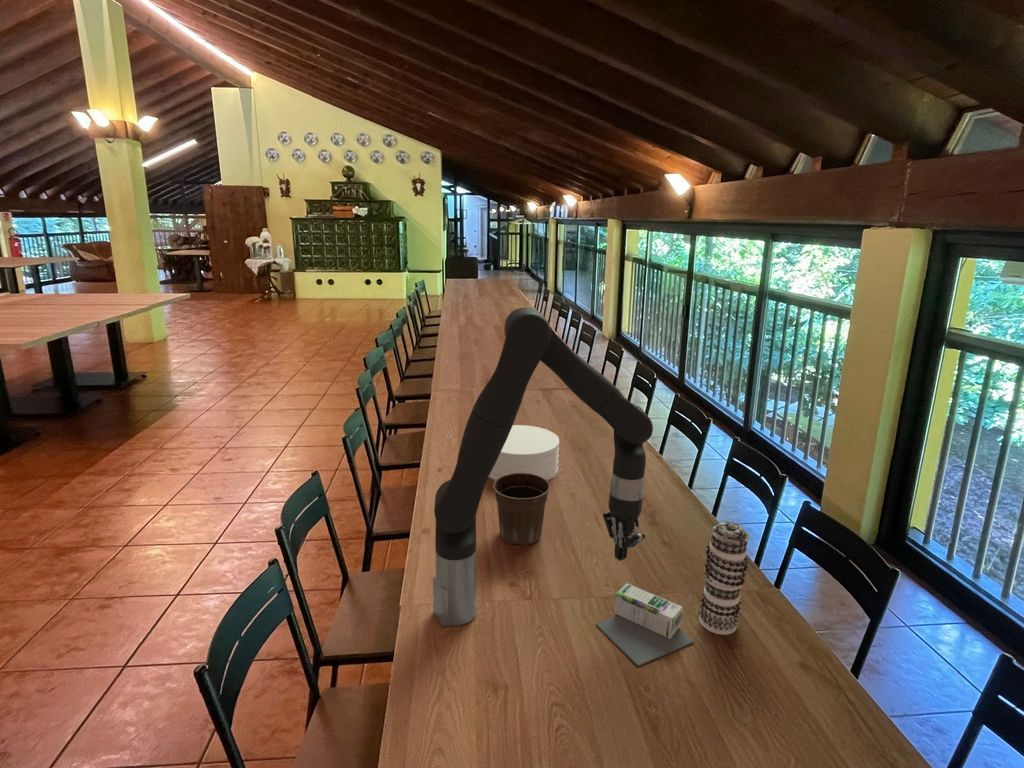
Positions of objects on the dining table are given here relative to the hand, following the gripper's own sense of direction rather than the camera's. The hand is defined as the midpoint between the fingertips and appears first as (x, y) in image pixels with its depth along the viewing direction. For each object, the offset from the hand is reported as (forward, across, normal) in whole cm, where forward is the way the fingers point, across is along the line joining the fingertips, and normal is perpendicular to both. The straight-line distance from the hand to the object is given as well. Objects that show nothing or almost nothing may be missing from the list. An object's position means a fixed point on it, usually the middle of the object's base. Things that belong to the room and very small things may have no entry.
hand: (620, 558), depth 144 cm
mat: (+14, +10, 0) cm, 17 cm away
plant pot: (+14, -40, -4) cm, 43 cm away
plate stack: (+14, -81, +19) cm, 84 cm away
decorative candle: (+14, +15, +18) cm, 27 cm away
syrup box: (+11, 0, +1) cm, 11 cm away
